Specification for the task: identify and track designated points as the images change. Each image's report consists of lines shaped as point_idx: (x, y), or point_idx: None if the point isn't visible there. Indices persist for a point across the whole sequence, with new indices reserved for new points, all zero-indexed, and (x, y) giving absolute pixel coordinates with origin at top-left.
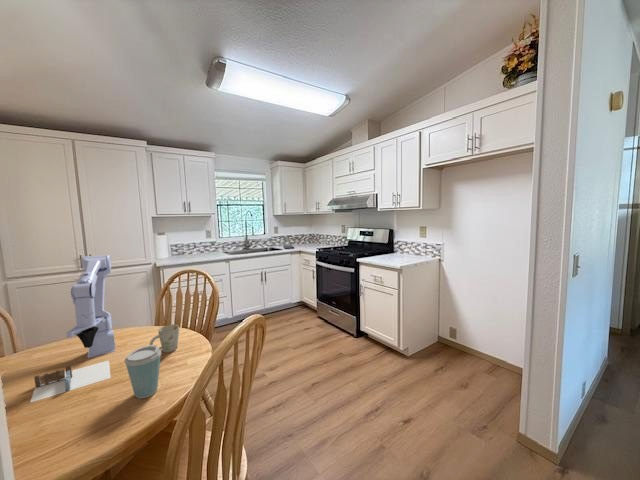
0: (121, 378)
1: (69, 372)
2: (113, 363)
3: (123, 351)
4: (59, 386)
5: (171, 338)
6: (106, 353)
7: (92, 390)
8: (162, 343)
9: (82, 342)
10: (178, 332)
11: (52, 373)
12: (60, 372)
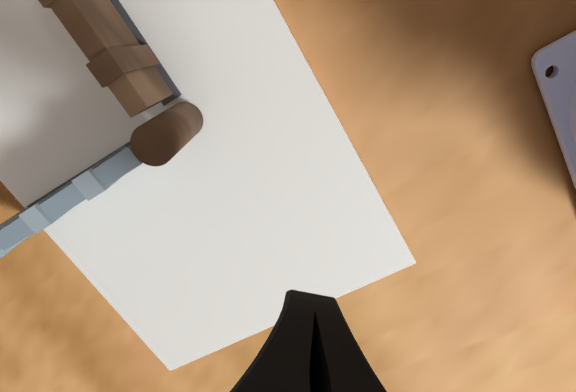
0: None
1: (89, 197)
2: (365, 304)
3: (563, 289)
4: (75, 125)
5: None
6: (573, 181)
7: (60, 333)
8: None
9: (266, 341)
10: None
11: (76, 38)
12: (118, 92)
